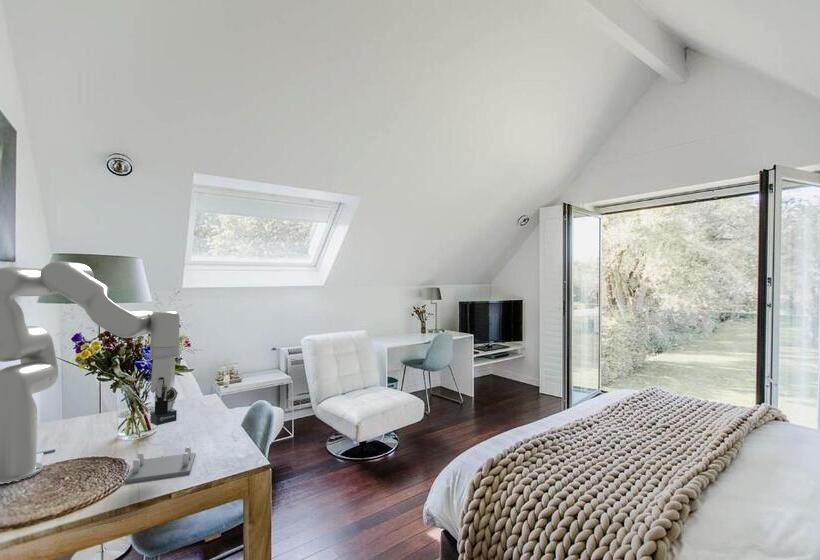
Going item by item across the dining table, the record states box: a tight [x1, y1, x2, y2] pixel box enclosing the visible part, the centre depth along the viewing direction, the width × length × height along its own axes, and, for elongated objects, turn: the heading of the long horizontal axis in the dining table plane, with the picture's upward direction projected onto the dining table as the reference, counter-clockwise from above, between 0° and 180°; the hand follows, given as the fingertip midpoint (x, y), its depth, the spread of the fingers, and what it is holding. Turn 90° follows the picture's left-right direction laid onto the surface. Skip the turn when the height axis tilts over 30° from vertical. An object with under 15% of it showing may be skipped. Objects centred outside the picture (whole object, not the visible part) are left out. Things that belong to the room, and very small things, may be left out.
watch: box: [149, 386, 179, 426], centre depth 124 cm, size 6×8×11 cm
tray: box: [124, 446, 196, 484], centre depth 123 cm, size 16×14×4 cm
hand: (164, 410), depth 124 cm, fingers closed on watch, 8 cm apart
